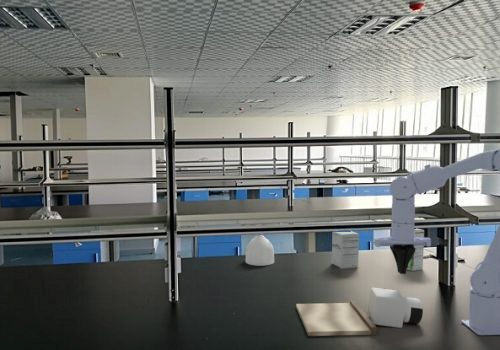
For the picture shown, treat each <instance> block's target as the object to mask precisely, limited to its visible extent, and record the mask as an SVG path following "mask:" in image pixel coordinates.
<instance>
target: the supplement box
mask: <svg viewBox="0 0 500 350" xmlns="http://www.w3.org/2000/svg"><path fill="white" fill-rule="evenodd" d="M350 231H351V232H332V231H331V234H332V236H331V238H332V239H331V245H332V246H331V264H332V265H333V266H336V267H338V268H339V269H341V270H342V269H352V268H359V250H360V249H359V244H360V233H358V232H356V231H355V232H354V231H353V230H350Z"/></svg>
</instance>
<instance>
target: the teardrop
mask: <svg viewBox="0 0 500 350" xmlns="http://www.w3.org/2000/svg"><path fill="white" fill-rule="evenodd" d="M245 263H246V264H248V265H251V266H263V267H264V266H269V265H273V264H274V263H275V250H274V246H273V244H272V243H271V241H269V239H268V238H266V237H265V236H264V235H263V234H262V235H259V236H257V235H255V237H253V238H251V240H250V241H249V243H248V244H247V245H246V248H245Z"/></svg>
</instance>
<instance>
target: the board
mask: <svg viewBox="0 0 500 350" xmlns="http://www.w3.org/2000/svg"><path fill="white" fill-rule="evenodd" d="M295 305H296V306H295V307H296V311H297V312H298V315H299V317H300V319H301V322H302V324H303V326H304V329H305V331H306V334H307V336H308V337H319V336H320V337H322V336H326V337H327V336H328V337H329V336H364V335H365V336H369V335H370V336H372V335H377V326H376V325H375V324H373V322H372V321H371V319H370V317H369V315H367V313H365V311H364V309H362V307H360V305H359V304H358V303H357V301H356V300H355V299H350V300H349V302H332V303H327V302H325V303H321V302H320V303H296V304H295Z"/></svg>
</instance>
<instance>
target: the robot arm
mask: <svg viewBox="0 0 500 350" xmlns="http://www.w3.org/2000/svg"><path fill="white" fill-rule="evenodd" d="M423 167H424V168H422V169H419V170H417V171H414V172H412V171H410V172H407V173H406V176H398V177H396V178H394V179H393V180H392V181H391V183H390V184H389V192H390V194H391V196H392V202H391V203H392V204H391V230H390V231H391V233H390V234H391V235H390V236H387V237H386V236H385V237H374V242H373V246H374V247H376V248H380V247H389V249H390V250H391V251H390V252H392V255H393V257H394V260H395V264H396V269H397V273H398V274H400V275H406V274H407V271H408V270H407V267H408V264H409V261H410V259H411V257H412V256H413V254H414V253H415V248H414V246H424V247H425V246H426V247H431V246H432V239H431V238H429V237H424V238H421V237H414V228H415V221H416V219H415V217H416V216H415V213H416V207H415V206H416V204H415V197H416V196H415V195H416V194H417V195H421V194H424V193H426V192H429V191H434V190H436V189H438V188H442V187H444V186H445V185H446V182H447V180H448V179H451V178H455V177H458V176H461V175H464V174H467V173H470V172H474V171H476V170H485V171H486V170H487V171H494V170H495V169H496V170H497V171H498V172H499V173H500V149H493V150H488V151H484V152H480V153H477V154H475V155H472V156H469V157H467V158H464V159H462V160H458V161H456V162H453V163H451V164H449V165H446V166H444V167H442V166H439V165H437V164H433V165H431V164H427V165H424V166H423ZM469 279H470V280H469V282H470V287H469V309H468V310H469V311H468V313H469V315H468V319H461V323H462V324H463V325H465V326H466V327H467V328H469V329H470V330H471V331H473V332H474V333H475V334H477V335H478V336H497V335H498V336H500V224H499V225H498V227H497V229H496V232H495V234H494V236H493V239H492V241H491V243H490V245H489V247H488V250H487V251H486V254H485V256H484V258H483V260H482V261H480V262H479V263H478V264H477V265H476V266H475V269H474V271H473V272H472V274H471V276H470V278H469Z"/></svg>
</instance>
